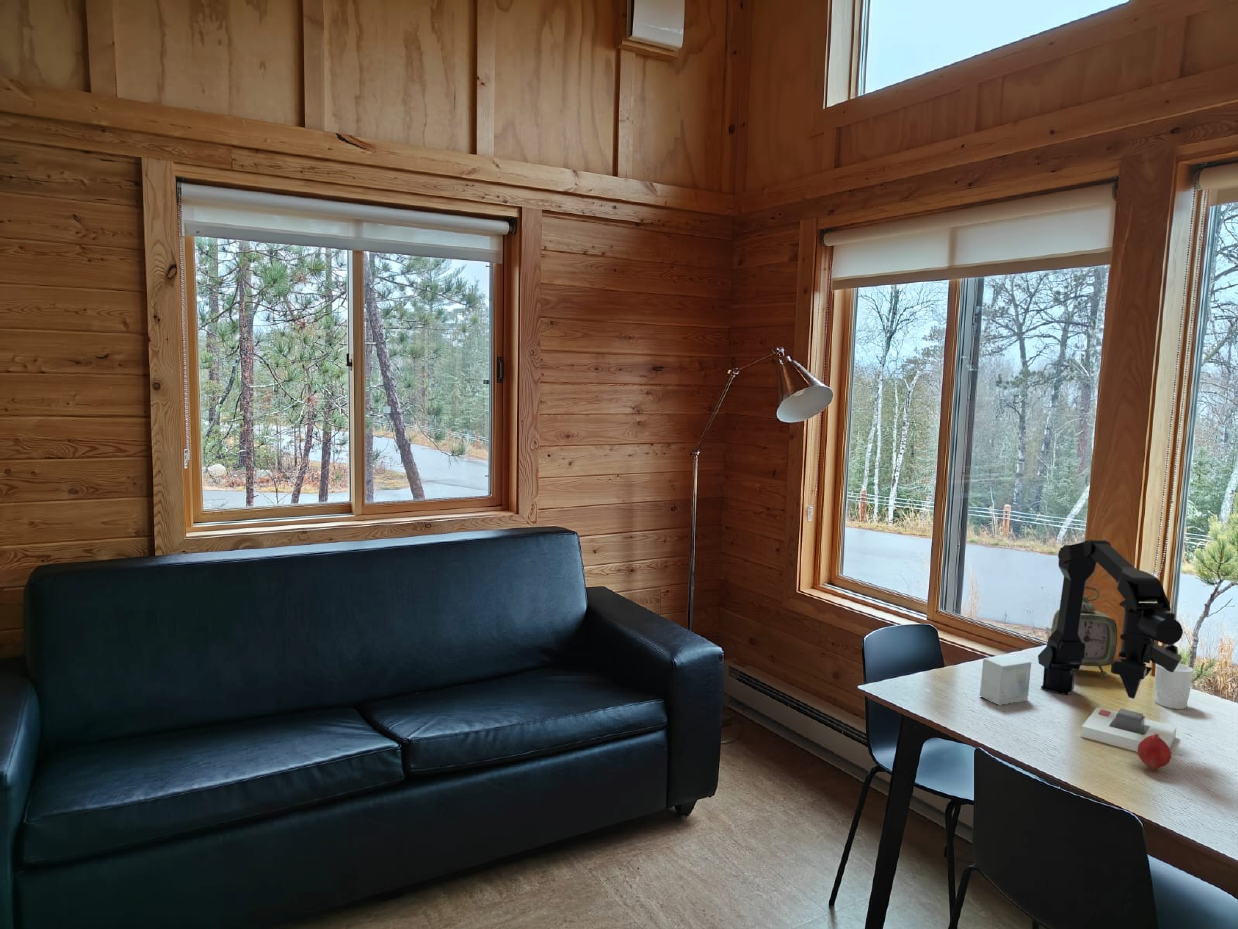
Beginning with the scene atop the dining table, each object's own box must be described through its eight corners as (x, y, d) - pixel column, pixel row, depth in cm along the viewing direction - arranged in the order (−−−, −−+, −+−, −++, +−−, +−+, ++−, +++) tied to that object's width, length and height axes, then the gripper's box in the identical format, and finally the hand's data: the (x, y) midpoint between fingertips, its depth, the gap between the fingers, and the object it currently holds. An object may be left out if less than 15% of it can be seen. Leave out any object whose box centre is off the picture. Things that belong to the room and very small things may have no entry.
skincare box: (999, 706, 202) (1002, 665, 201) (978, 697, 208) (981, 657, 207) (1029, 701, 206) (1032, 661, 206) (1008, 692, 212) (1010, 653, 211)
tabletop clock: (1058, 676, 226) (1065, 588, 224) (1045, 665, 235) (1052, 580, 233) (1113, 680, 224) (1121, 591, 222) (1099, 669, 233) (1106, 583, 231)
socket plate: (1080, 736, 185) (1081, 724, 185) (1096, 717, 197) (1097, 706, 197) (1164, 759, 175) (1165, 746, 174) (1175, 737, 187) (1176, 725, 186)
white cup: (1195, 712, 202) (1199, 673, 202) (1160, 708, 204) (1164, 669, 203) (1180, 700, 210) (1184, 662, 209) (1146, 697, 212) (1150, 660, 211)
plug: (1114, 733, 186) (1116, 712, 185) (1117, 728, 189) (1119, 707, 188) (1139, 740, 183) (1141, 718, 182) (1143, 735, 186) (1145, 713, 185)
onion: (1129, 763, 172) (1132, 727, 171) (1155, 763, 172) (1158, 727, 172) (1149, 776, 166) (1153, 739, 165) (1176, 776, 167) (1179, 738, 166)
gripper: (1174, 648, 171) (1167, 719, 173) (1186, 630, 185) (1180, 696, 187) (1113, 636, 179) (1107, 705, 180) (1129, 620, 193) (1124, 684, 194)
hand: (1131, 697), depth 185 cm, fingers closed
